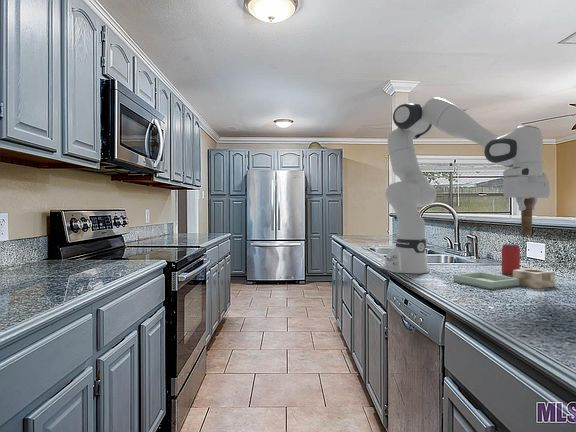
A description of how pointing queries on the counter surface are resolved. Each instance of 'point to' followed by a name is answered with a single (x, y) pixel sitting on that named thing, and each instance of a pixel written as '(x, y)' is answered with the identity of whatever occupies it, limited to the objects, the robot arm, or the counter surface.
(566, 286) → the counter surface
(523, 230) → the walnut peg
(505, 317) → the counter surface
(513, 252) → the beer can
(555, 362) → the counter surface
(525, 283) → the socket block
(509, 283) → the tray
